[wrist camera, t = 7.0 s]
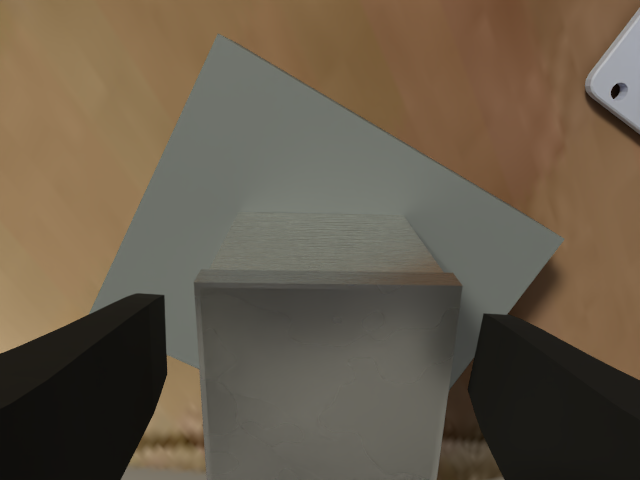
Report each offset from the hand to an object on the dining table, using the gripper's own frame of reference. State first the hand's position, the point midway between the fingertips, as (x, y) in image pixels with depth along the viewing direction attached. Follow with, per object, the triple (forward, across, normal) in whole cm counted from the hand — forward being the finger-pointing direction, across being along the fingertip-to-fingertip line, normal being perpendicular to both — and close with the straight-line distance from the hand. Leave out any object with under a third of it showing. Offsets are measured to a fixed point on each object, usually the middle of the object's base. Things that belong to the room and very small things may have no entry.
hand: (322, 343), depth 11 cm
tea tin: (+3, 0, 0) cm, 3 cm away
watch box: (+7, 0, 0) cm, 7 cm away
